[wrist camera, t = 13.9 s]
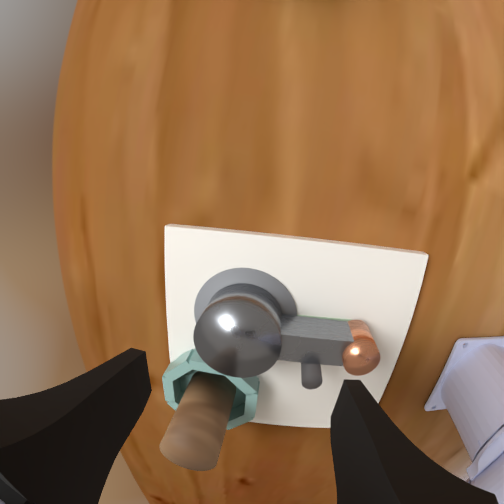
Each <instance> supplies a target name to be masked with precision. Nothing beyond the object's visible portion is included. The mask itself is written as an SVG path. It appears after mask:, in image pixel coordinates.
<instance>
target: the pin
mask: <svg viewBox="0 0 504 504" xmlns="http://www.w3.org/2000/svg"><path fill="white" fill-rule="evenodd" d="M235 394H236V386H235V385H234V384H233V383H232V382H231V381H230V380H229V379H228V378H227V377H226V376H224V375H219V374H213V373H208V372H202V371H197V372H196V373H194V374H193V376H192V378H191V380H190V382H189V384H188V386H187V388H186V390H185V392H184V395H183V397H182V399H181V401H180V403H179V405H178V407H177V409H176V411H175V414H174V416H173V418H172V420H171V422H170V424H169V426H168V428H167V430H166V433H165V435H164V437H163V439H162V441H161V443H160V450H161V452H162V454H163V455H164V456H165V457H166V458H167V459H169V460H170V461H171V462H173V463H175V464H177V465H179V466H181V467H184V468H187V469H191V470H196V471H206V470H211V469H213V468H214V467H215V466H216V464H217V461H218V457H219V454H220V450H221V446H222V443H223V439H224V435H225V432H226V428H227V424H228V421H229V417H230V413H231V409H232V406H233V402H234V398H235Z"/></svg>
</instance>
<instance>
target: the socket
mask: <svg viewBox="0 0 504 504" xmlns="http://www.w3.org/2000/svg"><path fill="white" fill-rule="evenodd" d="M197 371H202V372H208V373H213V374H219V375H224V374H221V373H219V372H217V371H215V370H214V369H212V368H211V367H209V366H208V365H207V364H206V363H205V362H204V361H203V360H202V359H201V357H200V356H199V354H198V353H197V351H196V348H195V349H191V350H189V351H187V352H185V353H183V354H181V355H180V356H179V357H178V358H177V359H176V360H174V361H173V362H171V363H170V364H169V366H168V368H167V369H166V371H165V373H164V374H163V377H162V380H163V387H164V394H165V401H168V402H167V404H169V405H170V406H171V407H172V408H173V409H175V410H176V409H177V407H178V405H179V403H180V401H181V399H182V397H183V395H184V392H185V390H186V388H187V386H188V384H189V382H190V380H191V378H192V376H193V374H194V373H196V372H197ZM224 376H226V377H227V378H228V379H229V380H230V381H231V382H232V383H233V384H234V385H235V386H236V394H235V398H234V402H233V406H232V409H231V413H230V417H229V421H228V424H227V428H226V429H228V430H229V429H232V428H234V427H237V426H239V425H241V424H244V423H246V422H249V421H251V420H253V418H255V412H256V406H257V399H258V392H259V384H260V381H258V380H259V378H258V377H257V376H253V377H247V378H238V377H231V376H227V375H224Z"/></svg>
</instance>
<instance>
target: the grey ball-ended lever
mask: <svg viewBox="0 0 504 504" xmlns="http://www.w3.org/2000/svg"><path fill="white" fill-rule="evenodd" d="M193 340H194V345H195V348H196V351H197V353H198V354H199V356H200V357H201V359H202V360H203V361H204V362H205V363H206V364H207V365H208V366H209V367H211V368H212V369H214V370H215V371H217V372H219V373H221V374H224V375H227V376H231V377H238V378H247V377H253V376H257V375H260V374H262V373H264V372H266V371H267V370H269V369H270V368H271V367H272V366H273V365H274V364H275V363H276V361H277V360H283V361H291V362H300V363H310V364H320V365H332V366H344V369H345V370H346V371H347V372H348V373H349V374H351V375H355V376H361V375H365V374H368V373H370V372H371V371H373V370H374V369H375V368H376V367H377V366H378V364H379V362H380V352H379V350H378V348H377V345H376V343H375V341H374V339H373V336H372V334H371V332H370V330H369V327H368V325H367V324H366V323H365V322H363V321H361V320H350V321H348V322H347V321H337V320H328V319H319V318H310V317H302V316H294V315H286V314H282V310H281V307H280V305H279V303H278V302H277V300H276V299H275V298H274V297H273V296H272V295H271V294H270V293H269V292H268V291H266V290H265V289H263V288H261V287H259V286H256V285H253V284H248V283H236V284H231V285H228V286H225V287H223V288H222V289H220V290H219V291H217V292H216V293H215V294H214V295H213V296H212V298H211V300H210V301H209V303H208V305H207V306H206V308H205V310H204V311H203V313H202V315H201V316H200V318H199V320H198V321H197V323H196V326H195V328H194V334H193Z"/></svg>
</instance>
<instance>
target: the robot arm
mask: <svg viewBox="0 0 504 504" xmlns="http://www.w3.org/2000/svg"><path fill="white" fill-rule="evenodd" d="M151 391H152V390H151V384H150V378H149V372H148V365H147V359H146V351H142V350H138V349H134V348H130V349H128V350H126V351H125V352H123V353H121V354H119V355H117V356H116V357H114V358H112V359H110V360H109V361H107V362H105V363H103V364H101V365H100V366H98V367H96V368H94V369H92V370H90V371H88V372H87V373H85V374H82V375H80V376H78V377H76V378H74V379H72V380H70V381H68V382H66V383H63V384H61V385H58V386H56V387H53V388H50V389H47V390H44V391H41V392H38V393H34V394H30V395H25V396H21V397H17V398H11V399H3V400H0V504H98V502H99V499H100V496H101V493H102V490H103V487H104V485H105V482H106V479H107V477H108V474H109V472H110V469H111V467H112V465H113V463H114V460H115V458H116V456H117V454H118V453H119V451H120V449H121V447H122V446H123V444H124V442H125V441H126V439H127V437H128V436H129V434H130V432H131V431H132V429H133V428H134V426H135V424H136V422H137V421H138V419H139V417H140V416H141V414H142V412H143V410H144V408H145V406H146V403H147V401H148V398H149V396H150V393H151ZM424 409H425V410H426V411H433V410H441V409H447V410H448V412H449V414H450V416H451V418H452V420H453V422H454V424H455V426H456V428H457V430H458V432H459V434H460V437H461V439H462V441H463V443H464V445H465V447H466V450H467V452H468V454H469V456H470V459H471V461H472V464H471V465H470V466H469V467H468V468H467V469H466V471H467V473H468V476H469V479H468V480H467V481H466V482H465V481H464V480H462V479H460V478H458V477H456V476H455V475H453V474H451V473H450V472H448V471H447V470H445V469H444V468H442V467H441V466H440V465H438V464H437V463H435V462H434V461H433V460H431V459H430V458H429V457H428V456H426V455H425V454H424V453H423V452H422V451H421V450H420V449H418V448H417V447H416V446H415V445H414V444H413V443H412V442H411V441H410V440H409V439H408V438H407V437H406V436H405V435H404V434H403V433H402V432H401V431H400V430H399V428H398V427H397V426H396V425H395V424H394V423H393V422H392V420H391V419H390V418H389V417H388V415H387V414H386V413H385V412H384V411H383V409H382V408H381V407H380V405H379V404H378V403H377V401H376V400H375V399H374V397H373V396H372V395H371V393H370V392H369V391H368V389H367V388H366V387H365V385H364V384H363V383H362V381H361V380H350V379H344V381H343V384H342V387H341V390H340V393H339V395H338V398H337V401H336V404H335V406H334V409H333V412H332V414H331V428H330V430H331V447H332V455H333V463H334V471H335V479H336V487H337V504H504V336H500V337H480V338H460V339H458V340H457V341H456V343H455V345H454V347H453V349H452V352H451V354H450V356H449V358H448V361H447V363H446V365H445V367H444V369H443V371H442V374H441V376H440V378H439V380H438V382H437V384H436V386H435V388H434V389H433V391H432V393H431V395H430V397H429V399H428V401H427V402H426V404H425V406H424Z"/></svg>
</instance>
